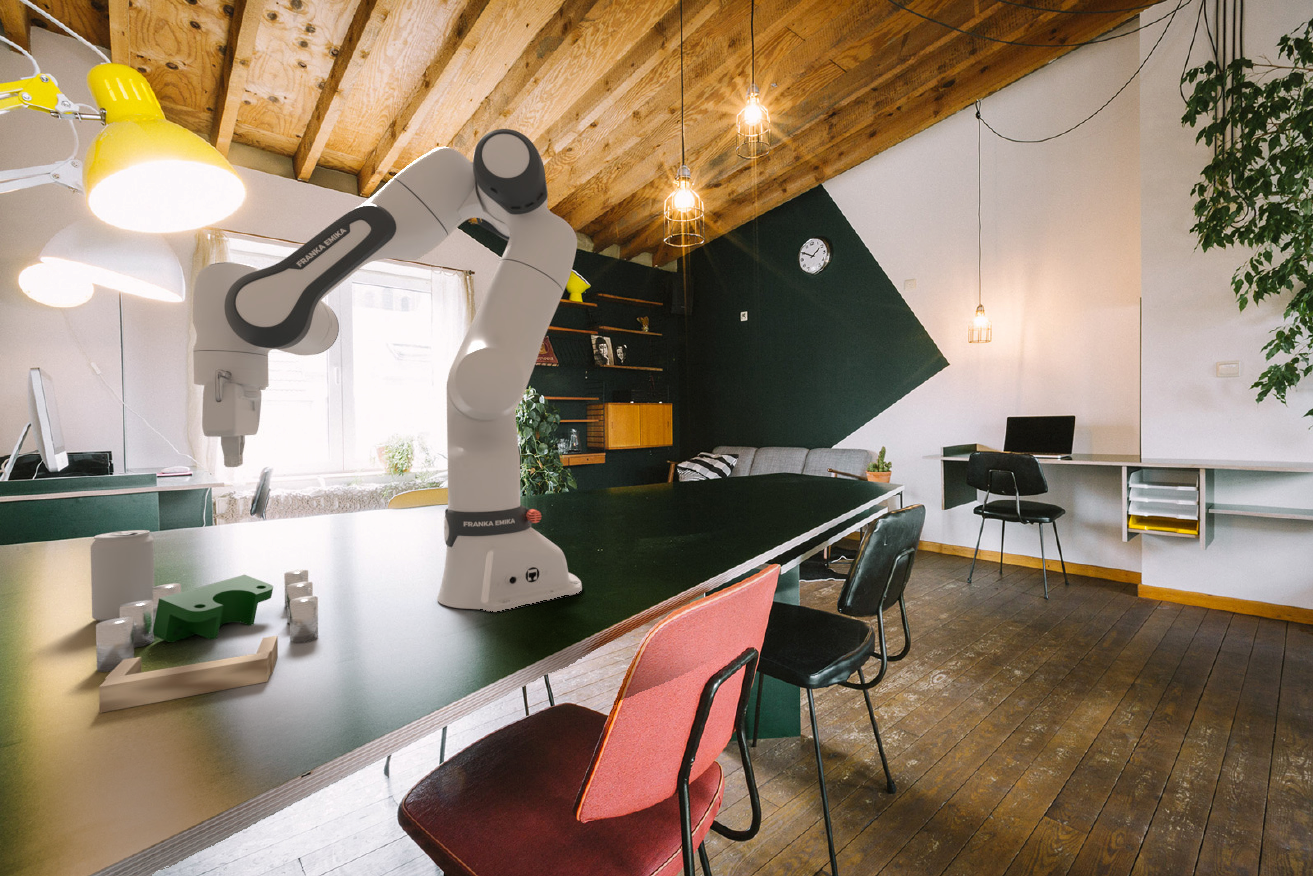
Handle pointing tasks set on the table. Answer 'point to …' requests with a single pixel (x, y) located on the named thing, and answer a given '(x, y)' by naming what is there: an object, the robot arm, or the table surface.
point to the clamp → (209, 608)
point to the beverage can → (120, 571)
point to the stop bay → (184, 678)
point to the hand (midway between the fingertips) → (233, 466)
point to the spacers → (139, 616)
